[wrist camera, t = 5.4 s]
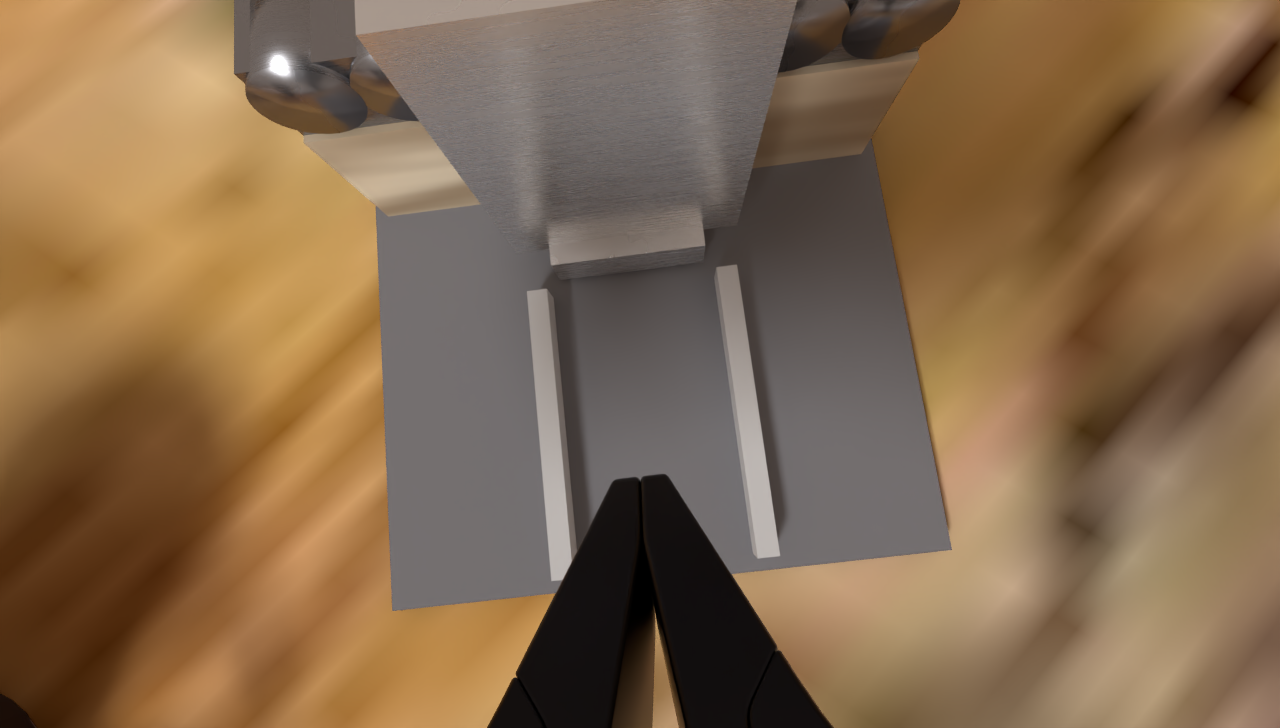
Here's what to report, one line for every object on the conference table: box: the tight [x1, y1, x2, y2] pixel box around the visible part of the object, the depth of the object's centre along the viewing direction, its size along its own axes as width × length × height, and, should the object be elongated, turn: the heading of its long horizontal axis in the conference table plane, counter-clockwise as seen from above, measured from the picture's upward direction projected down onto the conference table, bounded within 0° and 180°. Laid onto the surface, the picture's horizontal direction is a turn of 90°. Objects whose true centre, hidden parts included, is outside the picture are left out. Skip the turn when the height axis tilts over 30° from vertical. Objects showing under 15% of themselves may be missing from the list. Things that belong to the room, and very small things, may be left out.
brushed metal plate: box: [355, 0, 797, 280], centre depth 14 cm, size 6×6×10 cm
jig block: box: [304, 51, 919, 217], centre depth 17 cm, size 2×15×4 cm, turn 97°
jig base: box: [376, 139, 952, 611], centre depth 18 cm, size 15×16×2 cm
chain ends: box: [234, 0, 960, 136], centre depth 13 cm, size 2×16×3 cm, turn 97°
